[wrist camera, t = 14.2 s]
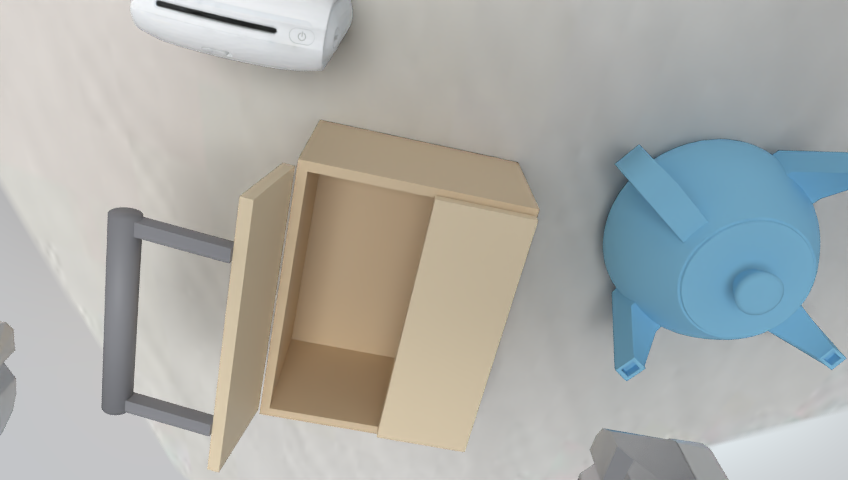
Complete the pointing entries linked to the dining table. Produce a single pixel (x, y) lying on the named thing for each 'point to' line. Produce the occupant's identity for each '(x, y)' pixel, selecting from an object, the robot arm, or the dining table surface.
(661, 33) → the dining table surface
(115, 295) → the far flap
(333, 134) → the carton
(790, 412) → the dining table surface
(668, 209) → the teapot
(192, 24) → the photo printer
